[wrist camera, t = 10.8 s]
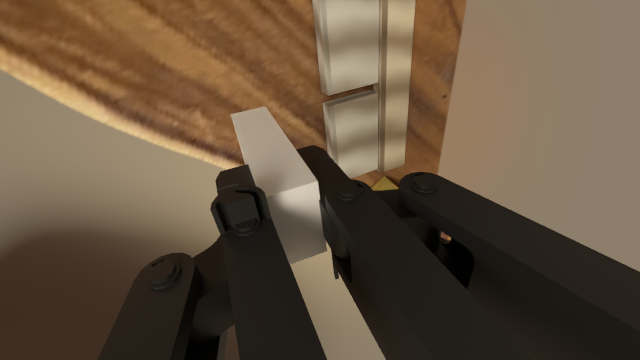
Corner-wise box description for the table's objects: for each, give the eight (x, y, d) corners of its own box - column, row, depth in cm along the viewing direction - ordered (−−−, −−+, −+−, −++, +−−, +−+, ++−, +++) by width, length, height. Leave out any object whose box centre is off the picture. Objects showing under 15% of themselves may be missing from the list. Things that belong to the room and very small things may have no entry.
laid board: (372, -34, 36) (381, -35, 34) (408, -38, 37) (418, -40, 36) (373, 167, 52) (379, 173, 51) (397, 160, 54) (404, 165, 52)
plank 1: (310, -21, 34) (317, -22, 32) (369, -29, 36) (379, -30, 35) (321, 91, 41) (328, 95, 40) (370, 79, 44) (378, 82, 42)
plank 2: (322, 102, 42) (329, 106, 40) (370, 89, 44) (378, 93, 43) (330, 178, 49) (336, 184, 48) (371, 163, 52) (378, 168, 50)
